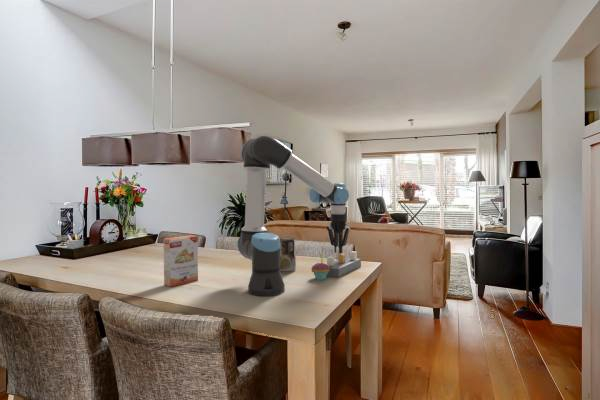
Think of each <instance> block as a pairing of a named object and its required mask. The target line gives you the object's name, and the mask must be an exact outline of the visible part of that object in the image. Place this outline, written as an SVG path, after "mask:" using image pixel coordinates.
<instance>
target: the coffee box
mask: <svg viewBox="0 0 600 400" xmlns="http://www.w3.org/2000/svg"><path fill="white" fill-rule="evenodd" d="M279 239H280V272H295V271H296V270H297V259H296V258H297V257H296V255H297V254H296V250H297V249H296V237H292V238H291V237H279Z"/></svg>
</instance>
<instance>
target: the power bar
mask: <svg viewBox="0 0 600 400" xmlns="http://www.w3.org/2000/svg"><path fill="white" fill-rule="evenodd" d="M329 267H330V268H329V269H330V270H329V272H328V273H327V275H326V277H327V276H328V277H334V278H341V277H343V276H345V275H347V274H349V273H351V272H352V271H354V270H356V269H358V268H360V267H362V259H361V258H358V257H357V259H356V260H350V256H349V257H348V256H345V262H344V263H339V262H338V260H334V265H333V266H329Z"/></svg>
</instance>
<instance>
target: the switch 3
mask: <svg viewBox="0 0 600 400" xmlns="http://www.w3.org/2000/svg"><path fill="white" fill-rule="evenodd" d="M349 253H350V254H349V258H350V260H356V259H357V258H358V251H353V250H352V251H350V252H349Z"/></svg>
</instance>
